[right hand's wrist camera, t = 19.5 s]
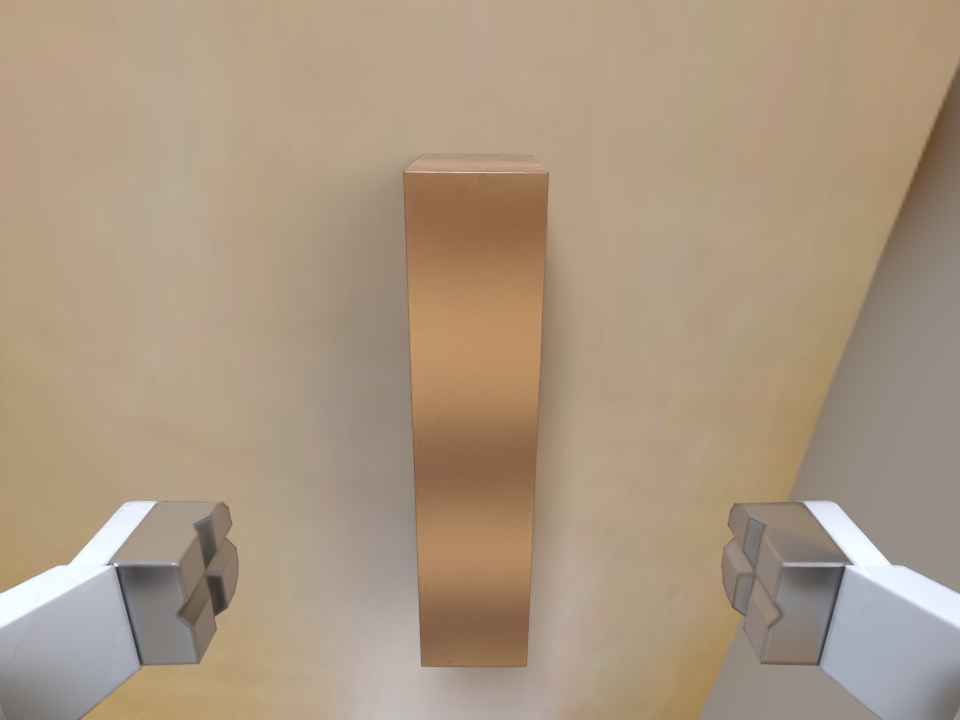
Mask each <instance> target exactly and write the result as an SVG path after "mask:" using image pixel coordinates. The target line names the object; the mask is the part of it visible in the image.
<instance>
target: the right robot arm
mask: <svg viewBox="0 0 960 720" xmlns="http://www.w3.org/2000/svg"><path fill="white" fill-rule="evenodd" d="M231 526H232V521H231V516H230V511H229V507H228V506H227V505H226V504H225V503H223V502H190V501H162V502H161V501H130V502H127V503H124V504H123V505H122V506H121V507H120V508H119V509H118V511H117V512H116V513H115V514H114V515H113V516H112V517H111V518H110V519H109V521H108V522H107V523H106V524H105V525H104V526H103V527H102V528H101V529H100V531H99V532H98V533H97V534H96V535H95V536H94V537H93V538H92V539H91V541H90V542H89V543H88V544H87V545H86V546H85V547H84V548H83V549H82V551H81V552H80V553H79V554H78V555H77V556H76V557H75V558H74V559H73V561H72V562H71V563H70V564H69V565H58V566H56V567H54V568H52V569H50V570H48V571H46V572H44V573H42V574H40V575H38V576H35V577H33V578H31V579H29V580H27V581H25V582H23V583H21V584H19V585H17V586H15V587H13V588H11V589H9V590H7V591H5V592H3V593H1V594H0V720H80V719H82V718H83V717H84V716H85V715H86V714H88V713H89V712H90V711H91V710H92V709H94V708H95V707H96V706H97V705H98V704H100V703H101V702H102V701H103V700H104V699H106V698H107V697H108V696H109V695H110V694H112V693H113V692H114V691H115V690H116V689H118V688H119V687H120V686H121V685H122V684H124V683H125V682H126V681H127V680H128V679H130V678H131V677H132V676H133V675H134V674H136V673H137V672H138V671H139V670H140V669H141V666H148V665H182V664H200V662H201V660H202V658H203V656H204V654H205V652H206V650H207V648H208V646H209V644H210V642H211V640H212V638H213V636H214V634H215V632H216V630H217V628H216V623H215V616H216V615H218V614H219V613H221V612H222V611H224V610H225V609H226V608H228V606H229V604H230V602H231V600H232V597H233V595H234V593H235V588H236V583H237V579H238V555H237V549H236V547H235V546H234V545H233V544H232V543H231V542H230V541H229V540H228V539H227V538H226V535H227V533H228V531H229V530H230V528H231ZM728 526H729V528H730V530H731V532H732V533H733V535H734V538H733V539H732V540H731V541H730V542H729V543H728V544H727V545H726V546H725V547H724V549H723V556H722V564H721V567H722V579H723V585H724V589H725V592H726V595H727V598H728V600H729V602H730V604H731V606H732V608H734V609H735V610H736V611H738V612H739V613H741V614H742V615H744V616H745V623H744V628H743V630H744V632H745V634H746V636H747V638H748V640H749V642H750V644H751V646H752V648H753V650H754V652H755V654H756V656H757V657H758V659H759V661H760V663H761V664H777V665H813V666H819V669H820V670H821V671H822V672H824V673H825V674H826V675H827V676H828V677H830V678H831V679H832V680H833V681H834V682H836V683H837V684H838V685H839V686H840V687H841V688H843V689H844V690H845V691H846V692H847V693H849V694H850V695H851V696H852V697H853V698H855V699H856V700H857V701H858V702H859V703H861V704H862V705H863V706H864V707H865V708H867V709H868V710H869V711H870V712H871V713H873V714H874V715H875V716H876V717H877V718H879V719H880V720H960V594H959V593H957V592H955V591H953V590H951V589H949V588H947V587H945V586H943V585H940V584H939V583H936V582H934V581H933V580H930V579H928V578H926V577H924V576H922V575H920V574H918V573H916V572H914V571H912V570H910V569H908V568H906V567H904V566H902V565H891V564H890V563H889V562H888V561H887V560H886V558H885V557H884V556H883V555H882V554H881V553H880V552H879V551H878V549H877V548H876V547H875V546H874V545H873V544H872V543H871V542H870V541H869V539H868V538H867V537H866V536H865V535H864V534H863V533H862V532H861V531H860V529H859V528H858V527H857V526H856V525H855V524H854V523H853V522H852V521H851V519H850V518H849V517H848V516H847V515H846V514H845V513H844V512H843V511H842V509H841V508H840V507H839V506H838V505H837V504H835V503H833V502H831V501H829V500H825V501H797V502H767V503H734V505H733V507H732V509H731V511H730V515H729V520H728Z"/></svg>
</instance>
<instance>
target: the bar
mask: <svg viewBox="0 0 960 720" xmlns="http://www.w3.org/2000/svg"><path fill="white" fill-rule="evenodd" d="M403 179H404V206H405V234H406V261H407V289H408V316H409V344H410V371H411V399H412V426H413V454H414V481H415V509H416V536H417V564H418V591H419V619H420V646H421V666H422V667H526V666H527V651H528V628H529V606H530V584H531V561H532V539H533V517H534V494H535V472H536V450H537V427H538V405H539V382H540V360H541V338H542V315H543V293H544V271H545V248H546V226H547V204H548V181H549V173H548V171H547V170H546V169H545V168H544V167H543V166H542V165H541V164H540V163H539V162H538V161H537V160H536V159H535V158H534V157H533V156H532V155H458V154H423V155H421V156H420V157H419V158H418V159H417V160H416V161H414V162H413V163H412V164H411V165H410V166H409V167H408V168H407V169H406V170H404V172H403Z"/></svg>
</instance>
